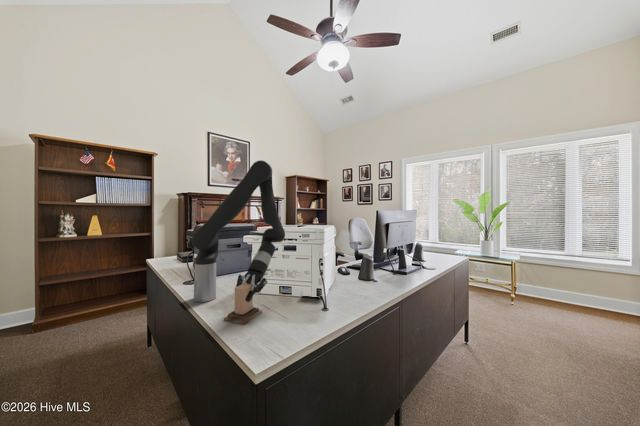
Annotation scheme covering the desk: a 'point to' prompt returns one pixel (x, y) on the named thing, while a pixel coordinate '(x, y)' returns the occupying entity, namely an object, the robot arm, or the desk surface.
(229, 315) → the walnut cradle
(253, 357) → the desk surface
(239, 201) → the robot arm
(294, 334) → the desk surface
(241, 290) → the terracotta block
